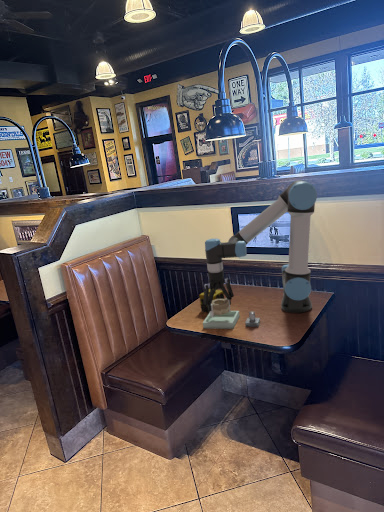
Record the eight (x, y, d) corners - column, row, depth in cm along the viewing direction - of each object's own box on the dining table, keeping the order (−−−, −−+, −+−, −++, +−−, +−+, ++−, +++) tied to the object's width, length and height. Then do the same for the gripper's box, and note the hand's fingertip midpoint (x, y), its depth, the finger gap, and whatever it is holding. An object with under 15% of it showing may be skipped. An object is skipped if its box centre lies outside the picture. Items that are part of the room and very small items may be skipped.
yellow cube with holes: (211, 305, 214) (209, 288, 212) (226, 307, 207) (224, 290, 205) (200, 311, 206) (198, 294, 204) (215, 314, 200) (213, 296, 198)
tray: (239, 316, 193) (239, 310, 192) (233, 328, 179) (232, 323, 178) (211, 316, 198) (210, 310, 197) (203, 328, 184) (202, 322, 183)
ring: (232, 311, 185) (231, 301, 184) (216, 316, 181) (215, 306, 180) (220, 305, 195) (219, 296, 194) (206, 310, 191) (204, 300, 190)
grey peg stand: (260, 321, 183) (259, 310, 181) (258, 326, 177) (257, 315, 176) (247, 321, 185) (246, 310, 183) (245, 326, 179) (244, 315, 178)
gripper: (230, 264, 190) (234, 306, 195) (192, 274, 181) (197, 317, 186) (238, 267, 183) (242, 310, 188) (199, 277, 175) (205, 322, 180)
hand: (220, 314), depth 187 cm, fingers closed on ring, 9 cm apart
